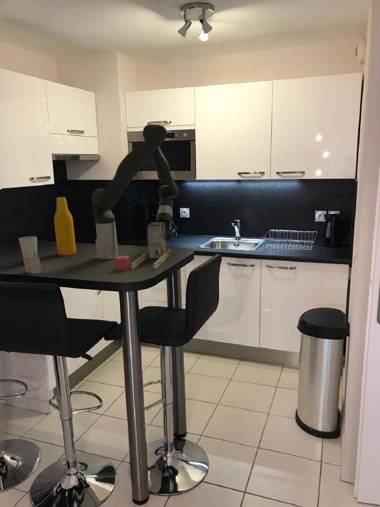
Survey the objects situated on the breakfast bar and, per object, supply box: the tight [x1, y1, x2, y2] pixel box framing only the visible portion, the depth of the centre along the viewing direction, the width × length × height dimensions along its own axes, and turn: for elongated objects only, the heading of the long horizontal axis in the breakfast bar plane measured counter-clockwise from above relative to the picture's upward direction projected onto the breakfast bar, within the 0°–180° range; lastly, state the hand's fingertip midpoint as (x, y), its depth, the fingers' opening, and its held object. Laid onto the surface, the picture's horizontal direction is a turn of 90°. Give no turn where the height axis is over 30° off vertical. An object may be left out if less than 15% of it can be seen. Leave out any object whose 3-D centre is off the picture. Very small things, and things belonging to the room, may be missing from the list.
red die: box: [114, 255, 132, 271], centre depth 178 cm, size 5×5×5 cm
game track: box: [130, 248, 173, 270], centre depth 191 cm, size 11×30×2 cm, turn 169°
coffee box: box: [146, 221, 167, 259], centre depth 198 cm, size 9×6×16 cm
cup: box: [18, 235, 38, 260], centre depth 196 cm, size 8×8×12 cm
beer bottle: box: [53, 196, 77, 256], centre depth 210 cm, size 9×9×29 cm
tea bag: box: [23, 249, 42, 275], centre depth 179 cm, size 4×7×10 cm, turn 50°
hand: (160, 244), depth 204 cm, fingers closed
